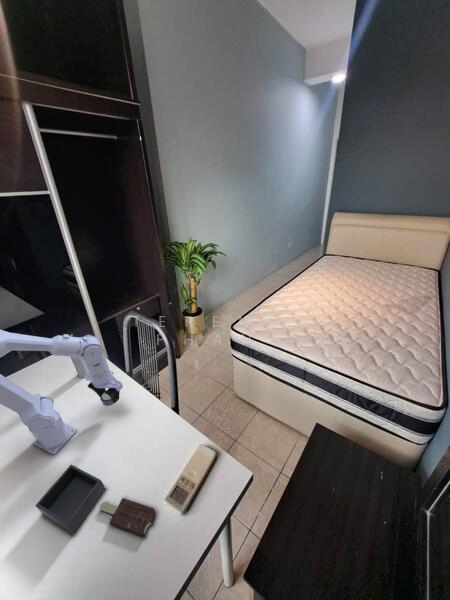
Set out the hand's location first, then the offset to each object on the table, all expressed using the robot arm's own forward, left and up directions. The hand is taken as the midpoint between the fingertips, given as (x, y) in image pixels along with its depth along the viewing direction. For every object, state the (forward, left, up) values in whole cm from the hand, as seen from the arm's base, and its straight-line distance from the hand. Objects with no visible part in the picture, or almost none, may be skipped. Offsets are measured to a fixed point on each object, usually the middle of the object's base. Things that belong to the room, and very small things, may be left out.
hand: (110, 398), depth 87 cm
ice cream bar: (+26, -23, -6) cm, 36 cm away
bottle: (-26, +10, -6) cm, 28 cm away
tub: (+11, -26, -6) cm, 29 cm away
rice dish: (0, 0, -1) cm, 1 cm away
